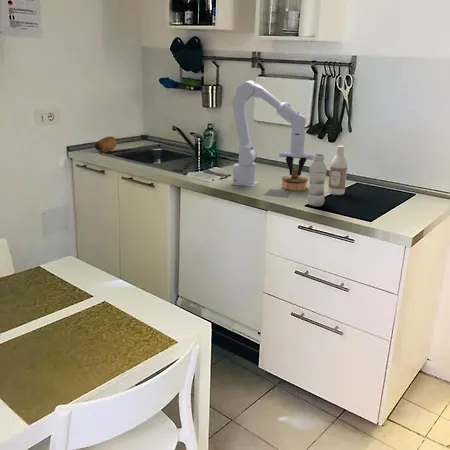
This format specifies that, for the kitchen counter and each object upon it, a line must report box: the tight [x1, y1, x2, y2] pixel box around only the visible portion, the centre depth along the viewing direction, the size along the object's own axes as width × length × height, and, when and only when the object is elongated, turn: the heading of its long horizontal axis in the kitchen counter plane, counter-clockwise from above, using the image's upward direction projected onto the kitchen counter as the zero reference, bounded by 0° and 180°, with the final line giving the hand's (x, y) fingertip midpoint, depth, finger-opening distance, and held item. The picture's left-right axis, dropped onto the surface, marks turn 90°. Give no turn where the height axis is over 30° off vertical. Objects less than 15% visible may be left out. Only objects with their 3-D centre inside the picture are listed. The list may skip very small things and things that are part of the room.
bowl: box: [281, 179, 308, 192], centre depth 227 cm, size 10×10×4 cm
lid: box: [281, 168, 309, 183], centre depth 225 cm, size 11×11×4 cm
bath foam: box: [327, 145, 348, 196], centre depth 219 cm, size 7×7×20 cm
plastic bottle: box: [306, 153, 328, 207], centre depth 201 cm, size 6×7×20 cm
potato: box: [94, 135, 117, 153], centre depth 290 cm, size 8×13×8 cm
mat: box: [264, 188, 293, 199], centre depth 218 cm, size 10×10×1 cm
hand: (295, 174), depth 226 cm, fingers closed on lid, 3 cm apart
